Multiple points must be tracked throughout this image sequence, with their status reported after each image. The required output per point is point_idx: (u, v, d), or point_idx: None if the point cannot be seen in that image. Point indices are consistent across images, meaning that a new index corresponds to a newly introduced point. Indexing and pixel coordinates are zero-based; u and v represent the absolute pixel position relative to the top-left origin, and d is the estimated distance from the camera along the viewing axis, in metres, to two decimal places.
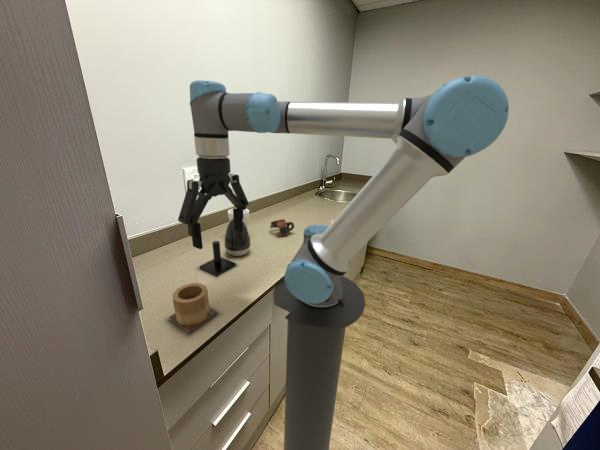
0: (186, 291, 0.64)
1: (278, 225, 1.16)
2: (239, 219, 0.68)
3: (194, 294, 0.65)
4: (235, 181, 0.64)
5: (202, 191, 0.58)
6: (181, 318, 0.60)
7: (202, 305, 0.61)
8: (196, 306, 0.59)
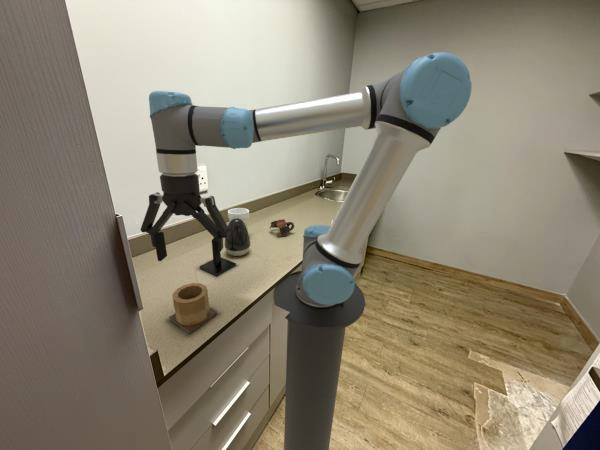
0: (186, 291, 0.64)
1: (278, 225, 1.16)
2: None
3: (194, 294, 0.65)
4: (205, 205, 0.53)
5: None
6: (181, 318, 0.60)
7: (202, 305, 0.61)
8: (196, 306, 0.59)
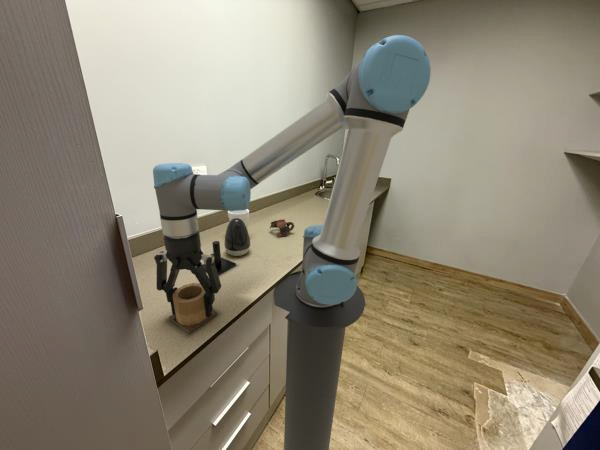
0: (186, 291, 0.64)
1: (278, 225, 1.16)
2: None
3: (194, 294, 0.65)
4: (205, 263, 0.57)
5: None
6: (181, 318, 0.60)
7: (203, 305, 0.61)
8: (196, 306, 0.59)
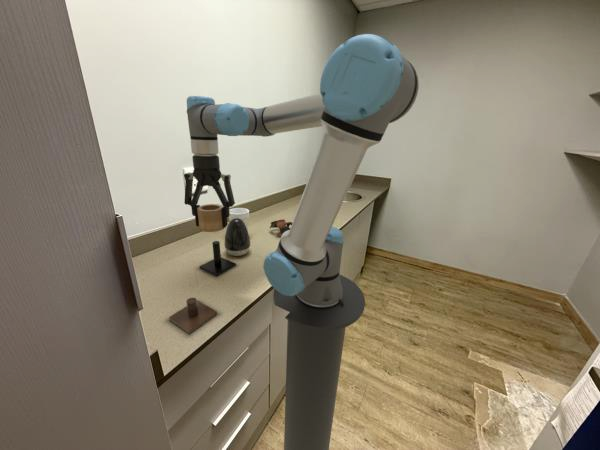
0: (206, 209, 0.81)
1: (278, 225, 1.16)
2: None
3: None
4: (223, 180, 0.74)
5: None
6: (204, 226, 0.76)
7: (220, 217, 0.78)
8: (216, 215, 0.76)
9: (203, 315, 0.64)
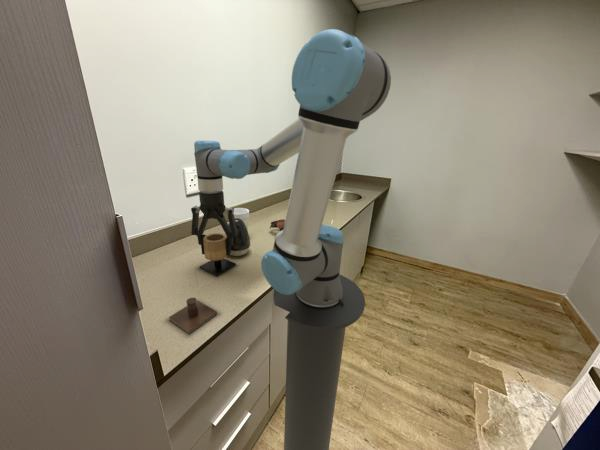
0: (211, 238, 0.87)
1: (278, 225, 1.16)
2: None
3: (217, 241, 0.88)
4: (227, 213, 0.80)
5: None
6: (209, 255, 0.82)
7: (224, 246, 0.84)
8: (220, 245, 0.82)
9: (203, 315, 0.64)
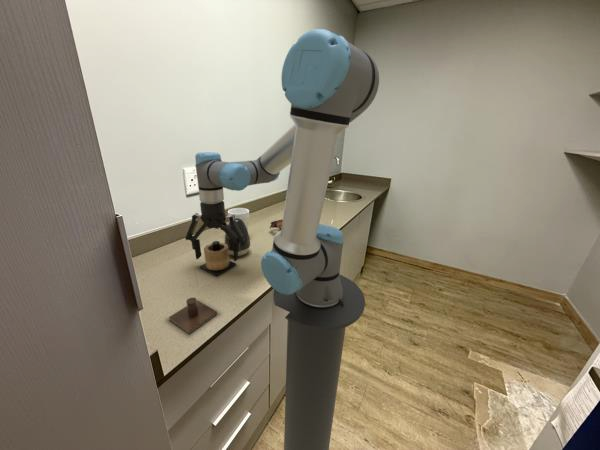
0: (212, 247, 0.88)
1: (278, 225, 1.16)
2: None
3: None
4: (229, 221, 0.81)
5: None
6: (210, 265, 0.84)
7: (225, 256, 0.85)
8: (221, 255, 0.83)
9: (203, 315, 0.64)
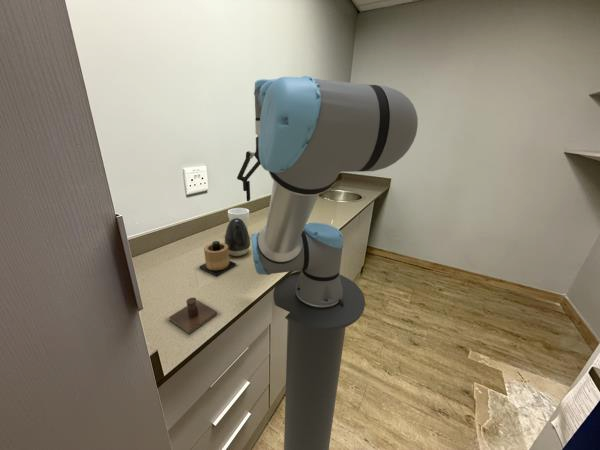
0: (212, 247, 0.88)
1: None
2: None
3: None
4: None
5: None
6: (210, 265, 0.84)
7: (225, 256, 0.85)
8: (221, 255, 0.83)
9: (203, 315, 0.64)
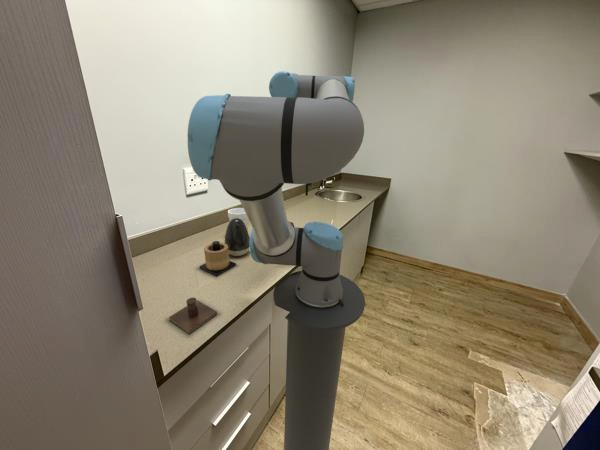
0: (212, 247, 0.88)
1: None
2: (306, 184, 0.84)
3: None
4: None
5: None
6: (210, 265, 0.84)
7: (225, 256, 0.85)
8: (221, 255, 0.83)
9: (203, 315, 0.64)
